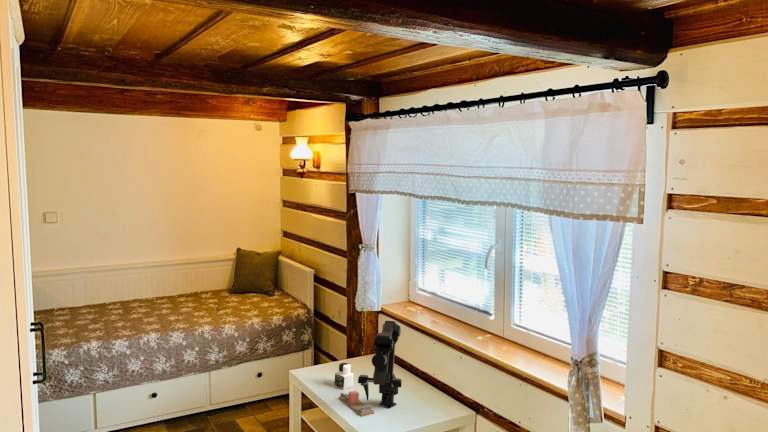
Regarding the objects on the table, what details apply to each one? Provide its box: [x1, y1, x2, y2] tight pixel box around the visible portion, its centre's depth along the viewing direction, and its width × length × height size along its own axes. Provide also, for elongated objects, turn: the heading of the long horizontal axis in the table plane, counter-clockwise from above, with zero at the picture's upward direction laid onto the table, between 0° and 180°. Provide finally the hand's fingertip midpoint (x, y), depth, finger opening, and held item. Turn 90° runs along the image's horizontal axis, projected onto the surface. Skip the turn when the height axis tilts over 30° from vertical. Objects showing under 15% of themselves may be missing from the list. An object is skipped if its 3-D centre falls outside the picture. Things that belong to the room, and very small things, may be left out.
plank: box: [338, 392, 375, 417], centre depth 269 cm, size 22×7×4 cm, turn 33°
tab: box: [343, 390, 360, 403], centre depth 274 cm, size 10×4×4 cm, turn 33°
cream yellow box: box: [334, 362, 355, 391], centre depth 292 cm, size 7×7×12 cm
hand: (378, 401), depth 241 cm, fingers open, 9 cm apart
